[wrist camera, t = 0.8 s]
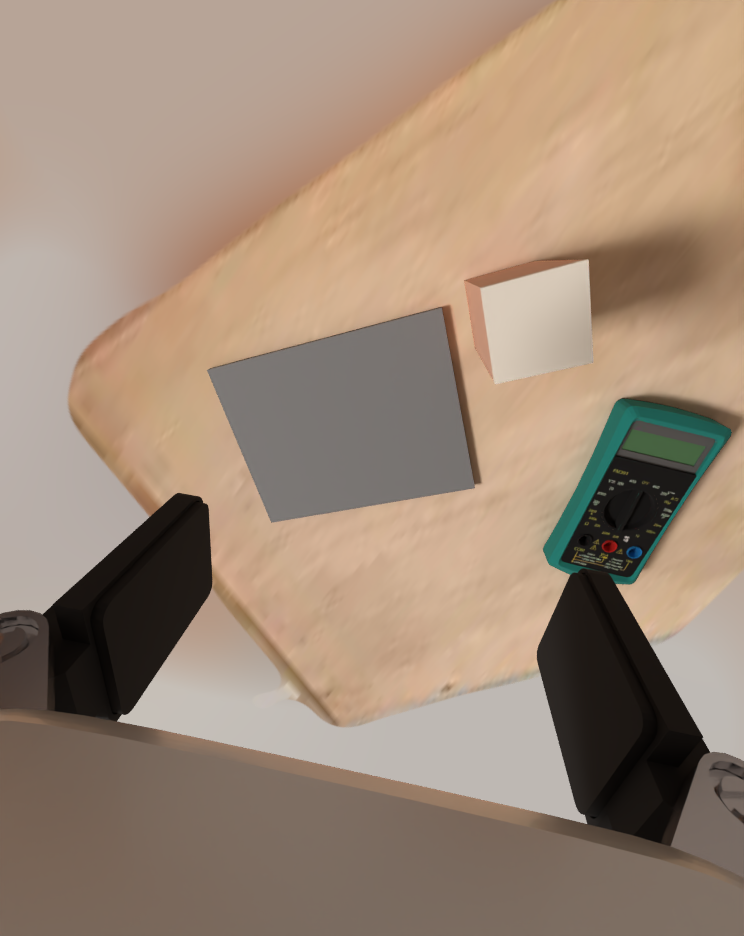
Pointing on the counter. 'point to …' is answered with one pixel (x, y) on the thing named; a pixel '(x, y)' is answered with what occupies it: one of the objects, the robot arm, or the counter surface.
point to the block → (532, 318)
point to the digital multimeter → (633, 488)
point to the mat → (350, 418)
